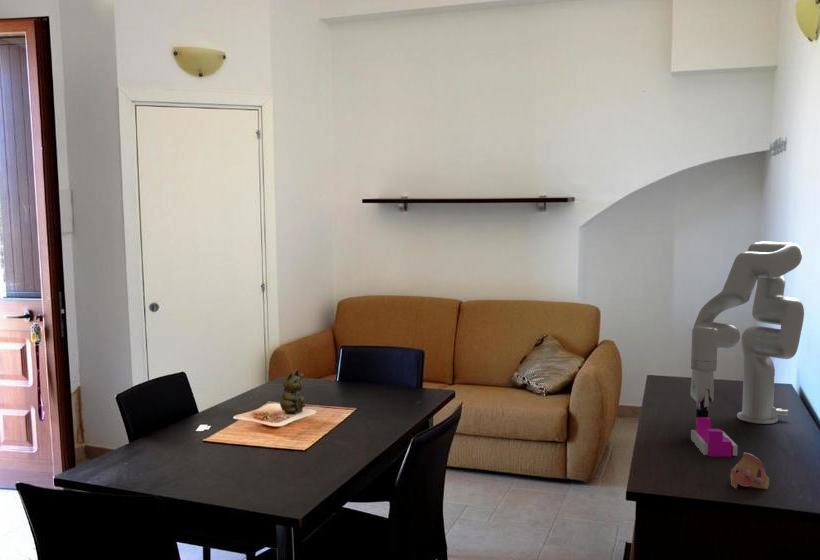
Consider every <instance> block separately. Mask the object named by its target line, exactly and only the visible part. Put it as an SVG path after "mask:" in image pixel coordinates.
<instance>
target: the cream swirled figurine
mask: <svg viewBox="0 0 820 560" xmlns="http://www.w3.org/2000/svg"><path fill="white" fill-rule="evenodd" d="M737 462H738V463H736V464H735V466H734V467H733V468H731V470H730V471H731V472H730V476H729V477H730V485H731V486H732V487H733V488H734V489H737V487H738V485H740V486H742V487H753V488H758V489H764V490H768V489H769V485H770V477H769V476H768V475H767V471H766V469H765V466H764V464H763V462H762V461H761V460H760V459H759V458H758V457H756V455H754V454H752V453H749V452H743V453H742V458H740V460H739V461H737Z"/></svg>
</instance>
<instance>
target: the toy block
mask: <svg viewBox="0 0 820 560" xmlns="http://www.w3.org/2000/svg"><path fill="white" fill-rule="evenodd" d="M695 417H696V416H695ZM711 420H712V419H711V418H710V417H709V416H708V417H696V418H695V430H696V432H697V433H698V434H699V435H700V436H701V437H702V438H703V440H704V441H705V442H706V443H707V444H708V455H707V456H708V457H725V458H727V457H728V458H729V457H732V454H731V447H732V442H731V441H730V440H729V439H728V438H723V430H722V429H721V428H712V422H711ZM726 456H727V457H726Z"/></svg>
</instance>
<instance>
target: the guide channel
mask: <svg viewBox="0 0 820 560" xmlns="http://www.w3.org/2000/svg"><path fill="white" fill-rule="evenodd" d="M722 431H723V430H722ZM723 438H728V439H729V440H730V441H731V442H732V447H731V456H733V457H734V456H735V457H738V444H737V443H736V442H734V440H733V439H732V438H731V437H730V436H728V435H727V433H726V432H725V431H723ZM690 440H691V441H692V442H694V443H695V444H694V443H693V444H694V446H696V447H697V449H698V448H699V449H698V450H699V451H700V452H701V454H702V453H703V454H702V455H704V456H708V444H707V443H706V442H705V441H704V440H703V438H702V437H701V436H700V435H699V434H698V433H697V432H696V429H690Z"/></svg>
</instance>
